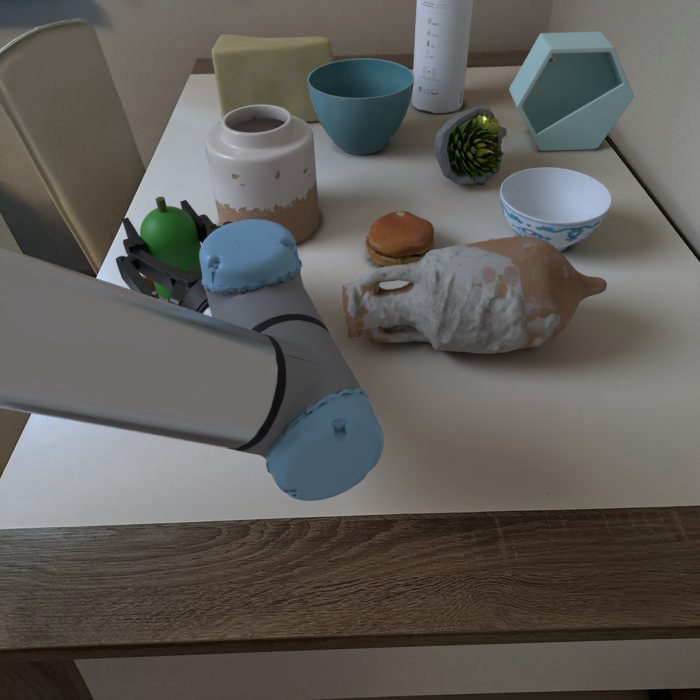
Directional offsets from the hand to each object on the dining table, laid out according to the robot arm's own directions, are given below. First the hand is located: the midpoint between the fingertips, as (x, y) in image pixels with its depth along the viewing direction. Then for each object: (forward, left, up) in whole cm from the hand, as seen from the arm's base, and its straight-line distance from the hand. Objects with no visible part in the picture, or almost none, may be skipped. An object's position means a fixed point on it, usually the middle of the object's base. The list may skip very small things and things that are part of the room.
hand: (157, 219), depth 79 cm
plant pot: (+38, +33, -12) cm, 52 cm away
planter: (+72, +21, -12) cm, 76 cm away
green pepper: (+1, -5, -7) cm, 9 cm away
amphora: (+33, -21, -12) cm, 41 cm away
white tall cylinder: (+58, +44, -12) cm, 74 cm away
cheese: (+27, +49, -12) cm, 57 cm away
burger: (+32, -1, -12) cm, 34 cm away
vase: (+16, +13, -12) cm, 24 cm away
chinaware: (+53, -6, -12) cm, 55 cm away
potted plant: (+51, +14, -12) cm, 54 cm away
